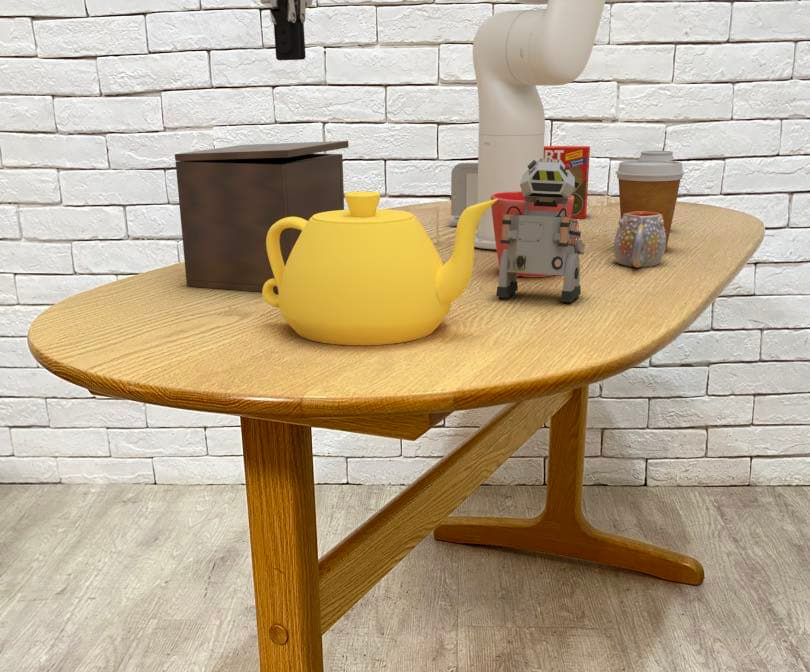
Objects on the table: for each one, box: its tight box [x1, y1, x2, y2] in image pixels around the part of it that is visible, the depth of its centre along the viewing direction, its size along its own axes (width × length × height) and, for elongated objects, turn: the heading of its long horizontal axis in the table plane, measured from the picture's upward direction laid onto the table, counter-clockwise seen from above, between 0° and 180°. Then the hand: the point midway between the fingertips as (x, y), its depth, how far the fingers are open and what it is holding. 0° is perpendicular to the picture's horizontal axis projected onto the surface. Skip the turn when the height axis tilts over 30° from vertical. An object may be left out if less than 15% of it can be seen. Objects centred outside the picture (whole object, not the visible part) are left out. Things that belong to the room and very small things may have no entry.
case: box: [175, 152, 345, 294], centre depth 137 cm, size 15×16×15 cm
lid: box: [174, 140, 349, 162], centre depth 134 cm, size 16×16×1 cm
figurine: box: [495, 159, 586, 304], centre depth 126 cm, size 9×12×15 cm
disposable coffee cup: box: [615, 159, 685, 252], centre depth 156 cm, size 10×10×12 cm
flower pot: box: [491, 191, 574, 278], centre depth 141 cm, size 11×11×10 cm
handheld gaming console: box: [450, 162, 478, 227], centre depth 183 cm, size 13×9×10 cm
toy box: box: [544, 145, 591, 220], centre depth 191 cm, size 18×4×12 cm, turn 77°
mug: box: [612, 211, 666, 269], centre depth 144 cm, size 12×7×7 cm, turn 163°
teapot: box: [261, 190, 498, 346], centre depth 111 cm, size 25×18×14 cm
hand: (291, 59), depth 132 cm, fingers closed
